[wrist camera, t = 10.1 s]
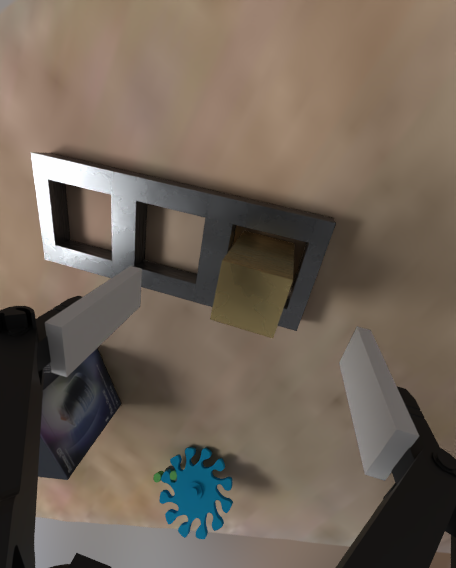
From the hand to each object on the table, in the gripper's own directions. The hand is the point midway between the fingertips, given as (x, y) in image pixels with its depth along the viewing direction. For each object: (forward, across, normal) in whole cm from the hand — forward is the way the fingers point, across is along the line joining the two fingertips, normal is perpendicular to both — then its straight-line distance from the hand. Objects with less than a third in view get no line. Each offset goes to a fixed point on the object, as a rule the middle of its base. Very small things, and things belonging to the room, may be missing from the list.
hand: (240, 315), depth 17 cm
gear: (+10, -1, -32) cm, 34 cm away
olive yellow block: (+10, 0, 0) cm, 10 cm away
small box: (+10, -18, -22) cm, 30 cm away
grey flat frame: (+10, -8, 0) cm, 13 cm away
